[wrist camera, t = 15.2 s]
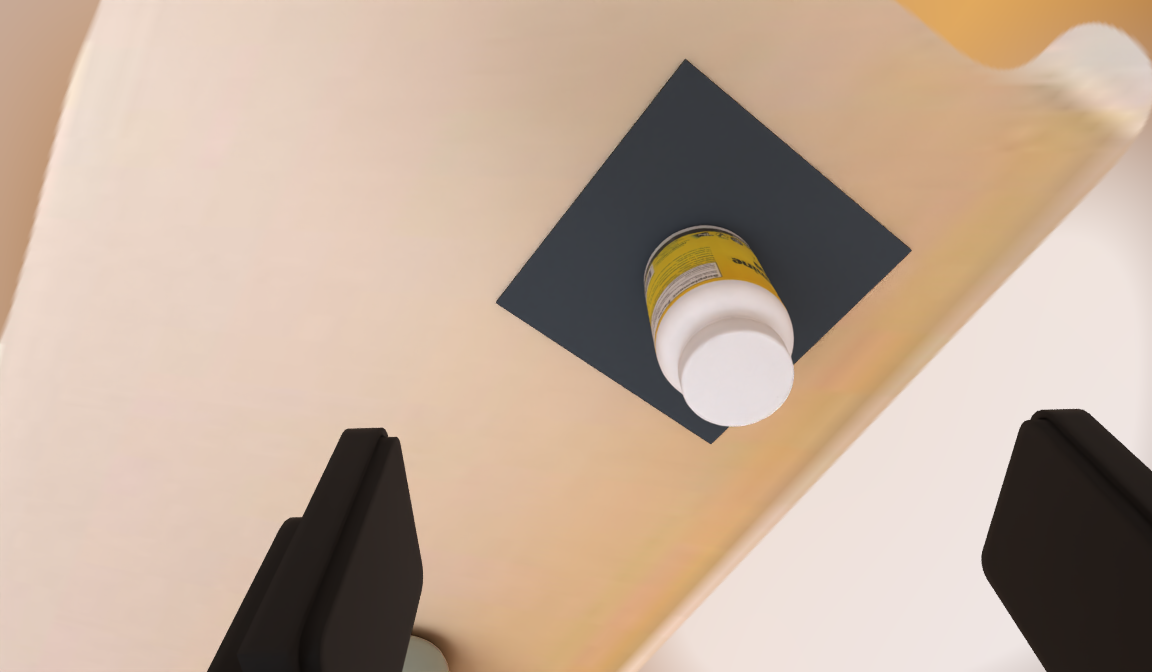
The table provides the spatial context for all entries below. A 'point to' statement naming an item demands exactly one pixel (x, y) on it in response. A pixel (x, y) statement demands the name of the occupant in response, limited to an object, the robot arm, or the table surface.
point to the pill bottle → (719, 326)
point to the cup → (424, 657)
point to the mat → (686, 199)
